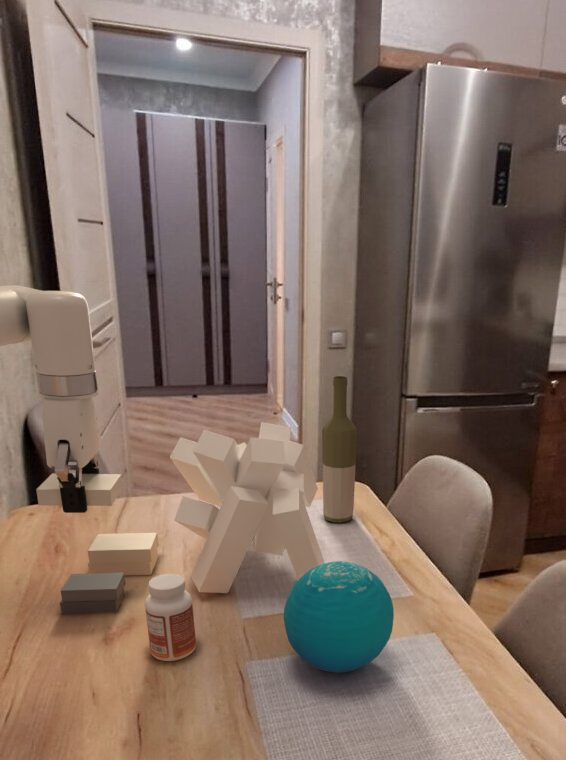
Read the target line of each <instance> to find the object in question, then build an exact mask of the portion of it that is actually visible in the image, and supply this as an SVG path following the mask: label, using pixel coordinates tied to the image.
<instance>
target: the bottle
mask: <svg viewBox="0 0 566 760" xmlns="http://www.w3.org/2000/svg"><path fill="white" fill-rule="evenodd" d="M332 385H333V410H332V411H333V413H332V416H331V417H330V418H329V419H328V421H327V422H326V423H325V424H324V425H323V426H322V431H321V435H322V437H321V439H322V440H321V441H322V443H321V444H322V445H321V446H322V447H321V448H322V453H321V454H322V510H323V511H322V513H323V514H322V515H323V518H324V519H325V520H326V521H328V522H331V523H338V524H339V523H345V522H349V521H352V519H353V517H354V507H355V485H356V484H355V483H356V461H357V438H358V437H357V435H358V431H357V426H356V425H355V424H354V423H353V422H352V420H351V419H350V418H349V416H348V415H347V401H348V400H347V399H348V398H347V397H348V396H347V395H348V393H347V392H348V377H347V376H342V375H337V376H333V381H332Z"/></svg>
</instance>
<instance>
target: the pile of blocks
mask: <svg viewBox="0 0 566 760" xmlns="http://www.w3.org/2000/svg"><path fill="white" fill-rule="evenodd" d="M291 431H292V426H287V425H286V426H285V425H282V424H281V425H280V424H275V423H270V422H265V421H261V422H260V427H259V433H258V437H252V436H251V437H250V438H249V440H248V442H247V443H246V442H242V443H239V444H237V441H236V439H235V438H233V437H230V436H226V435H223V434H220V433H217V432H214V431H210V430H208V429H203V431H202V432H201V435H200V437H199V438H198V440H197V441H194V440H191V439H187V438H185V437H182V436H180V437H179V439H178V441H177V443H176V445H175V447H174V449H173V450H172V452H171V454H170V456H169V459H170V460H171V461H172V463H173V464H174V466H175V467H176V469H177V470H178V472H179V473H180V474H181V475H182V477H183V478H184V480H185V481H186V483H187V484H188V485H189V487H190V489H192V491H193V493H194V494H195V495H196V496H197V497H196V498H198V499H199V500H198V499H194V498H191V497H187V496H184V495H182V497H181V499H180V502H179V505H178V508H177V511H176V514H175V517H174V519H173V522H176V523H178V524H179V525H181V526H182V527H184V528H186V529H188V530H190V531H191V532H192V533H194V534H196V535H198V536H200V537H201V538H203V539H205V542H204V545H203V547H202V550H201V552H200V554H199V557H198V559H197V561H196V564H195V566H194V568H193V570H192V573H191V575H190V578H191V580H192V582H193V583H194V585H195V587H196V590H197V591H198V592H199V593H214V594H229V592H230V590H231V587H232V585H233V583H234V581H235V579H236V576H237V574H238V572H239V570H240V568H241V566H242V563H243V561H244V559H245V557H246V555H247V552H248V550H249V549H250V546H251V544H252V542H253V552H254V553H259V554H260V553H261V554H268V555H276V556H283V554H284V552H285V550H286V553H287V555H288V558H289V561H290V563H291V565H292V568H293V571H294V574H295V576H296V578H297V581H298V580H299V579H300V578H301V577H302V576H303V575H304V574H305V573H306V572H307V571H309V570H311V569H312V568H314V567H316V566H319V565H321V564H324V563H325V560H324V557H323V554H322V551H321V548H320V546H319V542H318V539H317V537H316V533H315V530H314V528H313V525H312V521H311V519H310V516H309V513H308V510H307V508H311V505H312V503H313V501H314V499H315V497H316V494H317V492H318V490H319V488H318V485H317V482H316V479H315V475H314V473H313V469H312V466H311V463H310V459H309V457H308V453H307V450H306V447H305V444H302V443H300V442H299V443H298V442H296V441H292V440H291ZM218 507H220V508H218Z"/></svg>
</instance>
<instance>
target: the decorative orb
mask: <svg viewBox="0 0 566 760" xmlns="http://www.w3.org/2000/svg"><path fill="white" fill-rule="evenodd" d="M394 609H395V608H394V603H393V599H392V597H391V594H390V593H389V591H388V589H387V587H386V585H385V584H384V583H383V581H382V580H381V579H380V577H378V575H377V574H375V573H374V572H372V571H371V570H370V569H368V568H367V567H365V566H362V565H361V564H359V563H355V562H351V561H345V560H343V561H342V560H337V561H335V560H334V561H328V562H324V564H321V565H319V566H316V567H314V568H312V569H311V570H309V571H307V572H306V573H305V574H304V575H303V576H302V577H301V578H300V579H299V580H298V579H297V580H296V581H295V583H293V586H292V587H291V590H290V591H289V593H288V596H287V598H286V602H285V603H284V609H283V625H284V629H285V633H286V636H287V641H288V642H289V644H290V646H291V648H292V649H293V650H294V651H295V652H296V654H297V655H298V657H300V658H301V659H302V660H303V661H304V662H305V663H306V664H308V665H310V666H311V667H313V668H316V669H318V670H321V671H324V672H328V673H337V674H338V673H348V672H353V671H355V670H358V669H361V668H364V667H365V666H366V665H368V664H369V663H371V662H372V661H374V660H375V659H376V658H377V657H378V656H379V655H380V654H382V653H381V652H382V651H383V650H384V648H385V647H386V645H387V644H388V642H389V640H390V639H391V636H392V633H393V628H394V618H395V612H394Z"/></svg>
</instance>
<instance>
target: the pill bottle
mask: <svg viewBox="0 0 566 760" xmlns="http://www.w3.org/2000/svg"><path fill="white" fill-rule="evenodd" d="M148 592H149V593H148V594H149V595H148V596H147V597H146V599H145V601H144V609H145V617H146V624H147V634H148V643H149V650H150V653H151V655H152V657H154V658H155V659H157V660H159V661H162V662H174V661H179V660H183V659H185V658H187V657H189V656H190V655H191V654H193V653H194V651H195V650H196V647H197V637H196V628H195V627H196V625H195V618H194V615H195V614H194V606H193V599H192V598H193V597H192V596H191V593H189V591H187V590H186V580H185V578H184V576H183V575H181V574H177V573H164V574H163V573H162V574H159V575H156V576H154V577H152V578H151V579H150V580H149V581H148Z"/></svg>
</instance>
